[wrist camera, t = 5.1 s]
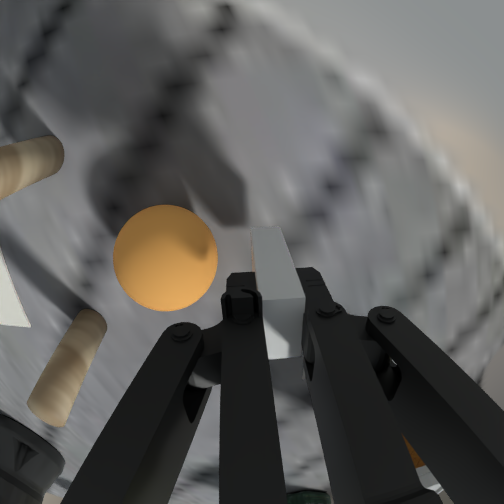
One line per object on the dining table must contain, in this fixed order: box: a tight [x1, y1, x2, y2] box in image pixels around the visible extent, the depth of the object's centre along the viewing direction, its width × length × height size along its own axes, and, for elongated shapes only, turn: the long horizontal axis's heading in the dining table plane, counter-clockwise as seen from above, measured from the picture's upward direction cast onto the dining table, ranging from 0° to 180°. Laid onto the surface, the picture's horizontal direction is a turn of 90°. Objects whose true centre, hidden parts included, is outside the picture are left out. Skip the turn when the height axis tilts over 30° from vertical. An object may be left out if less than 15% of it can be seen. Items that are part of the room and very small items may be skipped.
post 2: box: [27, 309, 107, 427], centre depth 16 cm, size 3×3×9 cm
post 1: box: [0, 135, 64, 200], centre depth 11 cm, size 3×3×9 cm
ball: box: [113, 205, 218, 311], centre depth 15 cm, size 6×6×6 cm
